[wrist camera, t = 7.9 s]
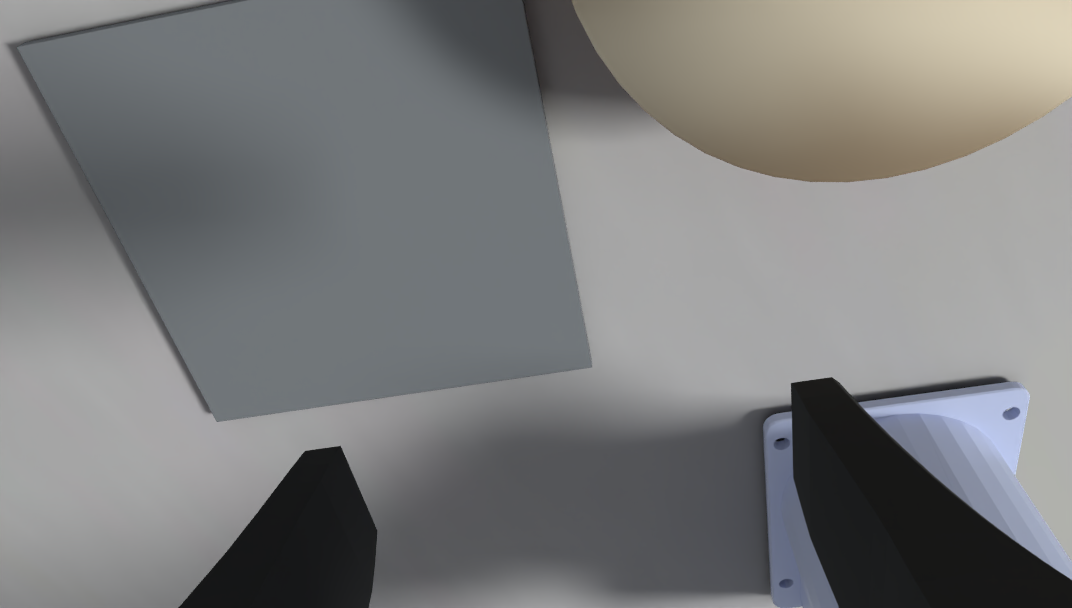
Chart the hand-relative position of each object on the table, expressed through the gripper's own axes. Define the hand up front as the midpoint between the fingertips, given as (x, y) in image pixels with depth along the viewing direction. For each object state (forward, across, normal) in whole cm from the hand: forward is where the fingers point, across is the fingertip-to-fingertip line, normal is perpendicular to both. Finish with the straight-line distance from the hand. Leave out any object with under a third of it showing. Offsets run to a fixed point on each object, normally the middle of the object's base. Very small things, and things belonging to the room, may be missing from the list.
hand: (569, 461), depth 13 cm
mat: (+10, +6, 0) cm, 12 cm away
